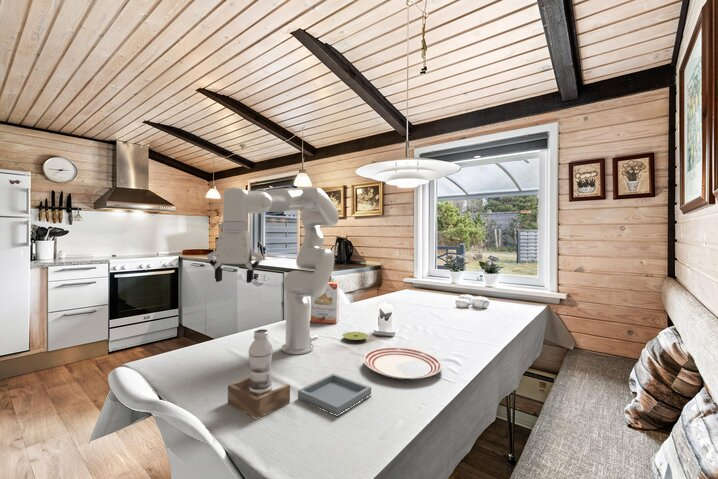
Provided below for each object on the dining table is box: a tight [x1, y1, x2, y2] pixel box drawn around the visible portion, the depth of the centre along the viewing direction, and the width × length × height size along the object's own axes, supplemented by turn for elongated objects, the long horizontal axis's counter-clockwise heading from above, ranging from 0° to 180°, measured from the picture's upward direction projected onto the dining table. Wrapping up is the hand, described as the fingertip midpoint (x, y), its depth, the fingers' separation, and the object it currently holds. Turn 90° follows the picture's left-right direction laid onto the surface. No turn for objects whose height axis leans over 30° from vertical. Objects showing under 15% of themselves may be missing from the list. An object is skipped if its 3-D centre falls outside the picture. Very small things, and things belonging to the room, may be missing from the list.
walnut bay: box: [227, 376, 291, 419], centre depth 96 cm, size 11×13×5 cm
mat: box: [342, 331, 369, 341], centre depth 153 cm, size 11×11×2 cm
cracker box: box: [310, 281, 340, 325], centre depth 180 cm, size 14×6×21 cm, turn 81°
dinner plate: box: [362, 346, 443, 380], centre depth 122 cm, size 28×27×3 cm
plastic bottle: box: [248, 328, 274, 397], centre depth 96 cm, size 6×7×20 cm
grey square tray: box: [297, 373, 372, 415], centre depth 100 cm, size 15×15×2 cm
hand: (234, 281), depth 109 cm, fingers open, 9 cm apart
